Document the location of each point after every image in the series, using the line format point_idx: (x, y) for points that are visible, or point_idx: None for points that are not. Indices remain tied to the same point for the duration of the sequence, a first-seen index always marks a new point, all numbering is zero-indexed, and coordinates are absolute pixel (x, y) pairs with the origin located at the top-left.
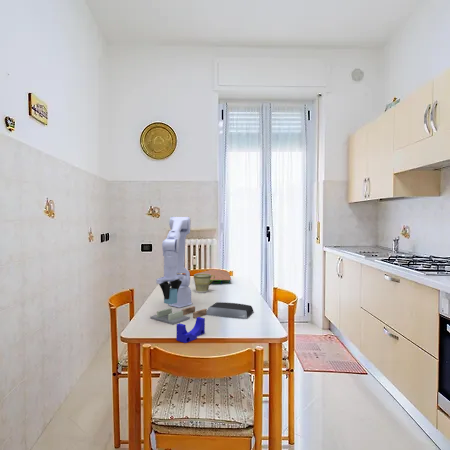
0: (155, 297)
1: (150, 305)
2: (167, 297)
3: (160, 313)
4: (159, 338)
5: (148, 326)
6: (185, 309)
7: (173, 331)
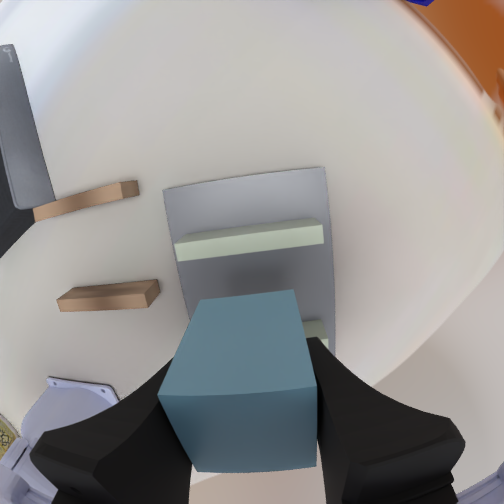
0: None
1: None
2: (325, 347)
3: (306, 333)
4: (470, 72)
5: (428, 245)
6: (123, 294)
7: (389, 76)
